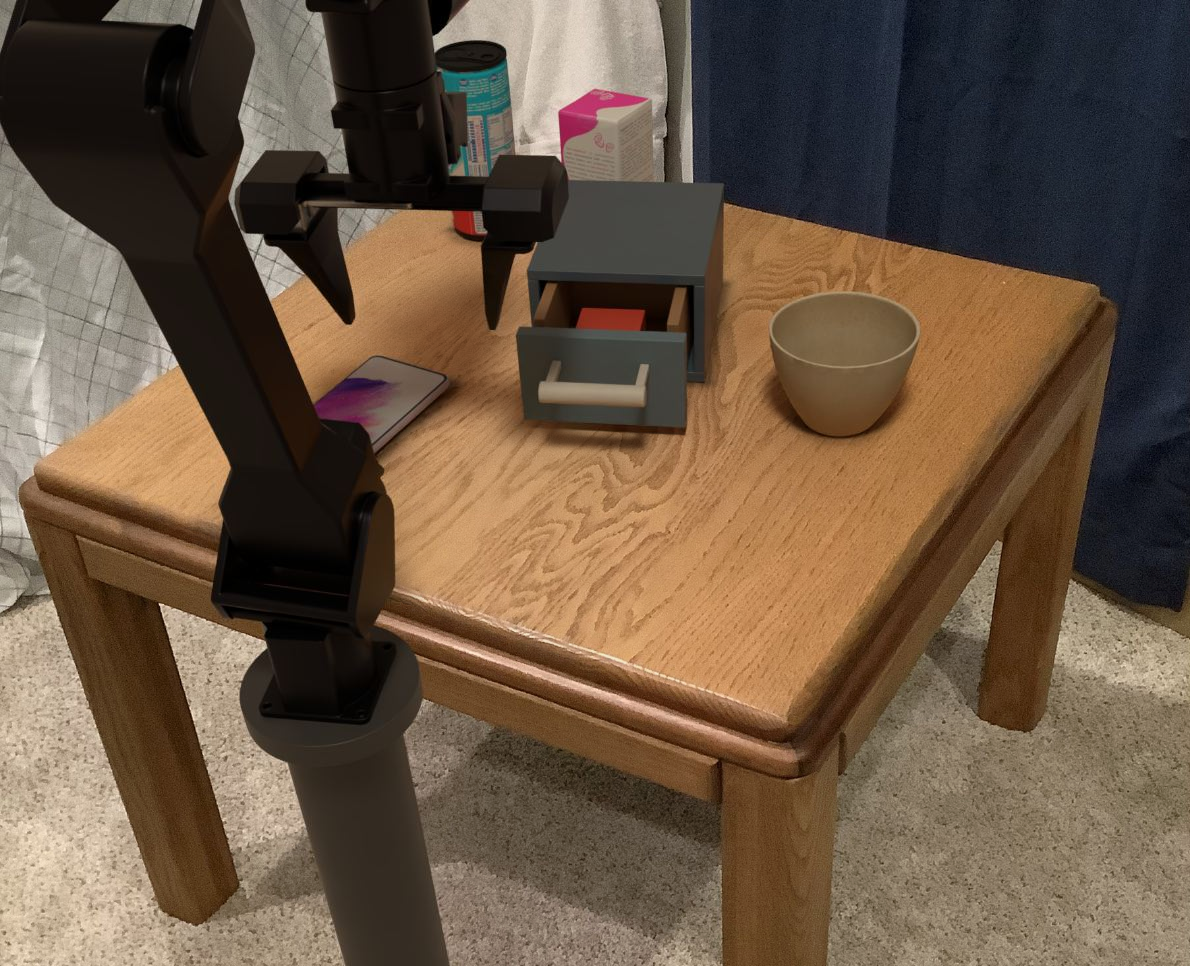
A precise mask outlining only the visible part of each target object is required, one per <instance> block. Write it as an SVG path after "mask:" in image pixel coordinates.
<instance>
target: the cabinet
mask: <svg viewBox="0 0 1190 966" xmlns="http://www.w3.org/2000/svg"><path fill="white" fill-rule="evenodd" d="M568 190H569V199H568V202H567V204H566V207H565V210H564V212H563V215H562V218H561V220H560V223H559V226H558V228H557V231H556V234H555V236H554V238H552V239H549V240H547V241H544V242H536V245H535V247H534V250H533V253H532V256H531V259H530V261H529V264H528V267H527V268H526V277H527V278H526V279H527V290H528V300H529V311H530V312H529V313H530V322H531V323H530V324H531V327H534V323H533V319H534V316H535V313H536V311H537V308H538V305H539V303H540V300H541V297H542V295H543V292H544V289H545V286H546V284H547V281H548V280H549V281H580V282H610V283H640V284H670V285H694V335H693V339H692V344H691V349H690V354H689V359H688V364H687V383H689V382H692V383H705V382H706V378H707V372H708V367H709V360H710V355H711V349H712V345H713V340H714V334H715V330H716V323H717V319H718V312H719V308H720V301H721V297H722V291H723V285H724V229H725V228H724V226H725V224H724V220H725V216H724V215H725V184H724V183H723V182H722V183H721V182H719V183H718V182H681V181H679V182H678V181H677V182H676V181H674V182H673V181H654V182H636V181H592V180H568Z"/></svg>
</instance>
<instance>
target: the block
mask: <svg viewBox="0 0 1190 966" xmlns="http://www.w3.org/2000/svg"><path fill="white" fill-rule="evenodd" d="M575 329H599V330H625V331H646V322H645V310H631V309H602V308H582V310H581V313H580V316H579V319H578V322H577V325H576V328H575Z"/></svg>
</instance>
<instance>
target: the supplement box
mask: <svg viewBox="0 0 1190 966" xmlns="http://www.w3.org/2000/svg"><path fill="white" fill-rule="evenodd" d="M557 114H558V130H559V131H558V132H559V145H560V146H559V147H560V162H561V163H562V164H563V165H564V166H565V168H566V170H567V175H568V180H592V181H636V182H655V171H654V126H653V124H654V123H653V122H654V121H653V99H652V98H649V97H644V96H640V95H639V96H638V95H637V96H636V95H633V94H628V93H627V94H626V93H621V92H616V91H610V90H605V89H599V88H593V89H591V90H590V91H588V92H587V93H585V94H584V95H582V96H581V97H579V98H577V99H576V100H574V101H573V102H571V103H569V104H567V105H565V106H564V107H562V108H560V109H559V110H558V112H557Z"/></svg>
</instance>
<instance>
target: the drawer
mask: <svg viewBox="0 0 1190 966" xmlns="http://www.w3.org/2000/svg"><path fill="white" fill-rule="evenodd" d="M582 308H602V309H631V310H645V322H646V331H625V330H599V329H575V328H576V325H577V322H578V319H579V316H580V313H581V310H582ZM533 323H534V327H532V326H518V328H517V331H516V334H515V342H516V352H517V362H518V373H519V382H520V383H519V384H520V392H521V401H522V402H521V403H522V413H523V414H522V415H523V420H524V421H539V422H540V421H541V422H559V423H560V422H562V423H579V424H580V423H582V424H602V425H604V424H605V425H622V426H623V425H625V426H641V427H643V426H645V427H666V428H686V425H687V421H688V382H687V364H688V359H689V354H690V349H691V344H692V339H693V335H694V285H670V284H640V283H610V282H580V281H549V280H548V281H547V284H546V286H545V289H544V292H543V295H542V297H541V300H540V303H539V305H538V308H537V311H536V313H535V316H534V319H533Z"/></svg>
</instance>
